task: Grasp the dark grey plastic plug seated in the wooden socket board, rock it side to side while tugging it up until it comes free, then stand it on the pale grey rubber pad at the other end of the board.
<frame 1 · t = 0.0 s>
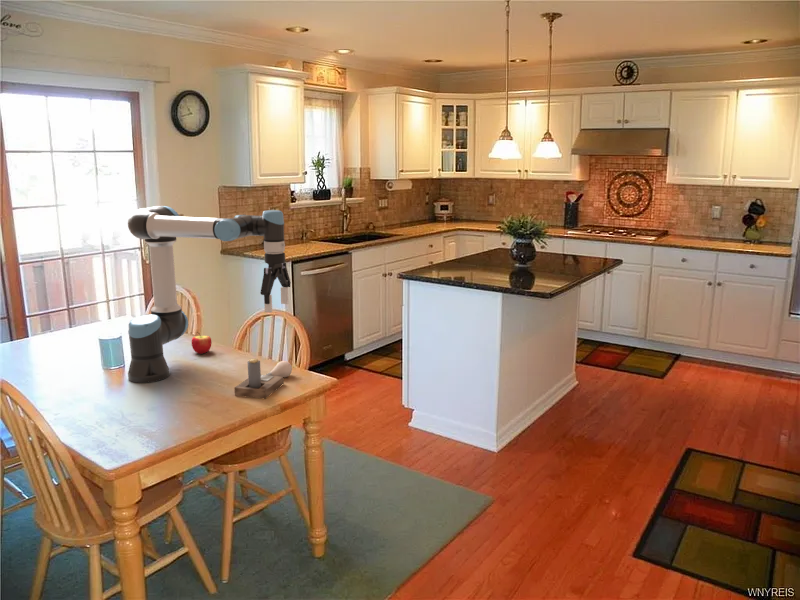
hand: (276, 307, 242), 28 cm above the table, fingers open, 13 cm apart
apple: (202, 353, 279), on the table
wooden socket board: (259, 389, 236), on the table
plug: (255, 393, 233), resting in wooden socket board
light bulb: (278, 378, 249), on the table
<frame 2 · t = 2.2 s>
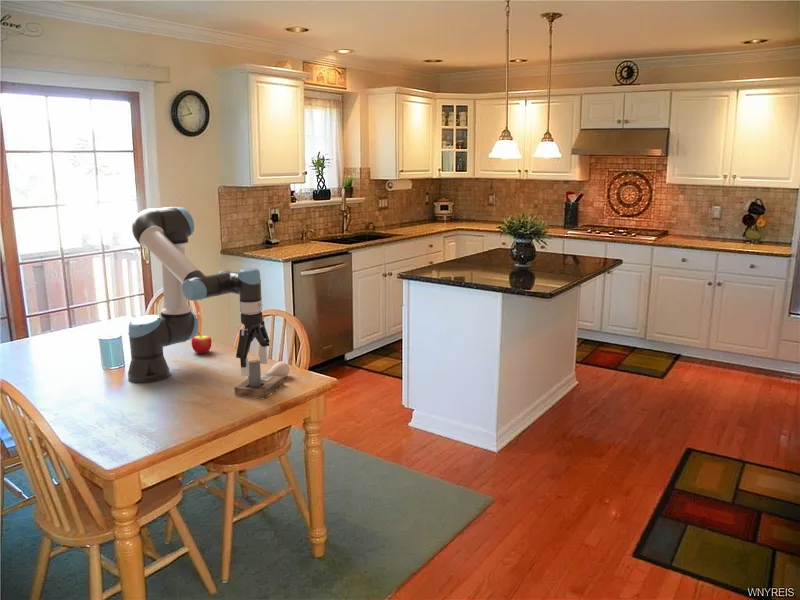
hand: (254, 369, 231), 9 cm above the table, fingers open, 13 cm apart
light bulb: (276, 379, 248), on the table
everything else where it was.
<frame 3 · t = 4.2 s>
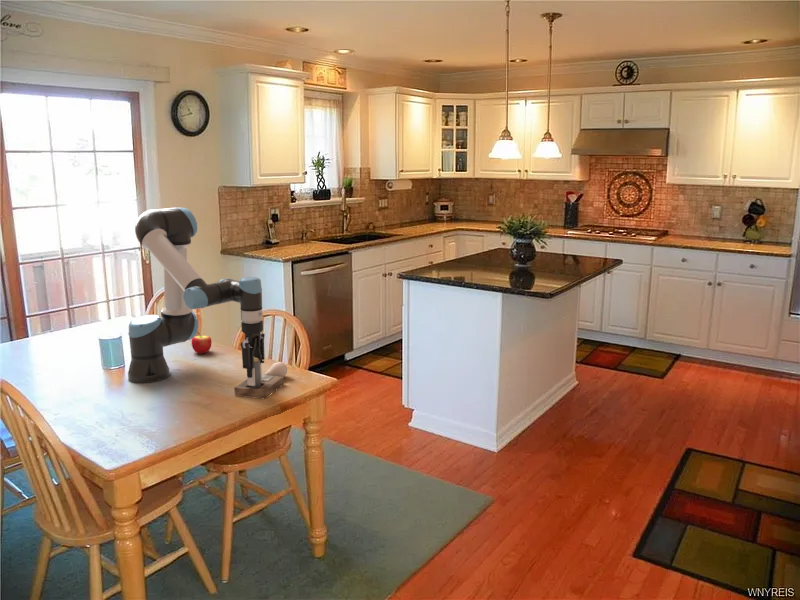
hand: (254, 382, 232), 4 cm above the table, fingers closed on plug, 4 cm apart
plug: (255, 392, 233), resting in wooden socket board, touching gripper
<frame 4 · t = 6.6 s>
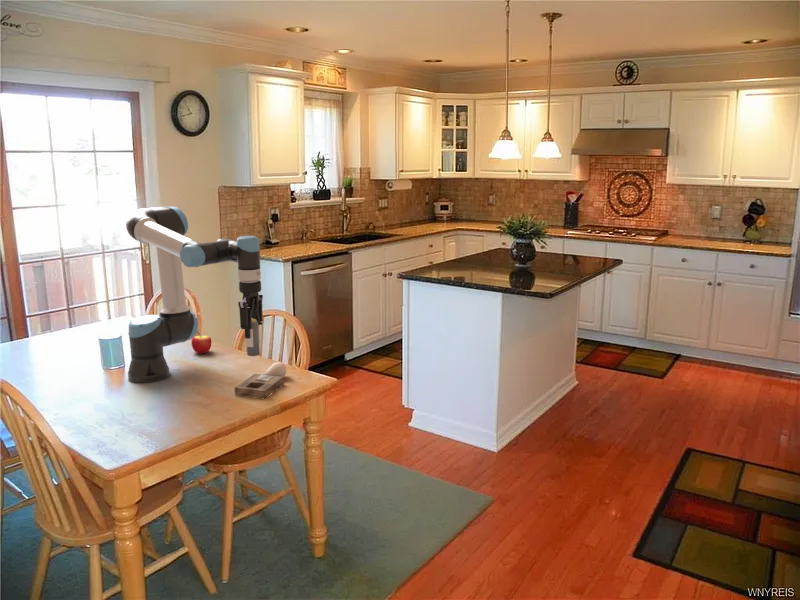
hand: (252, 344, 229), 19 cm above the table, fingers closed on plug, 4 cm apart
plug: (253, 354, 230), point 15 cm above the table, touching gripper
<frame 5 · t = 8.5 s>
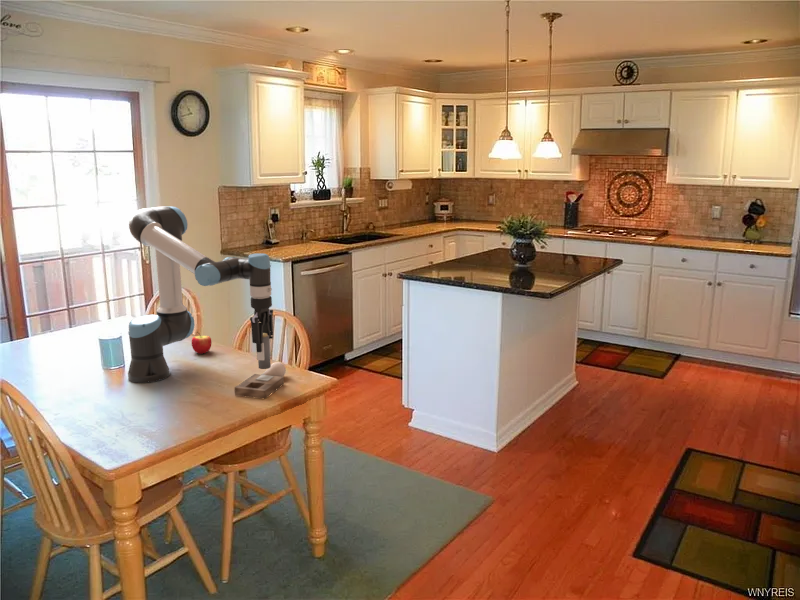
hand: (264, 357, 237), 11 cm above the table, fingers closed on plug, 4 cm apart
plug: (264, 367, 238), point 7 cm above the table, touching gripper
when the fingers open (8 cm above the table, at t = 9.7 s): plug drops 1 cm, resting on wooden socket board.
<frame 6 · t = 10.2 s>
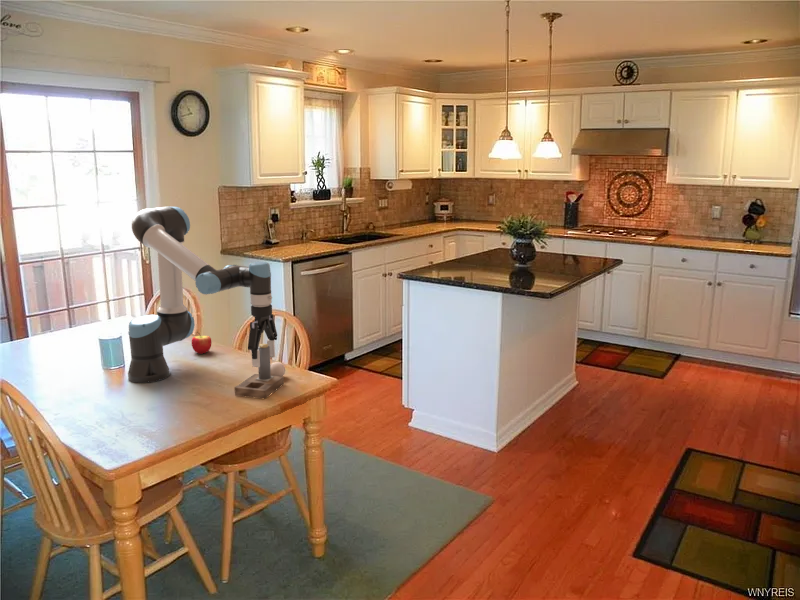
hand: (263, 361, 238), 10 cm above the table, fingers open, 11 cm apart
plug: (264, 377, 239), point 3 cm above the table, touching wooden socket board
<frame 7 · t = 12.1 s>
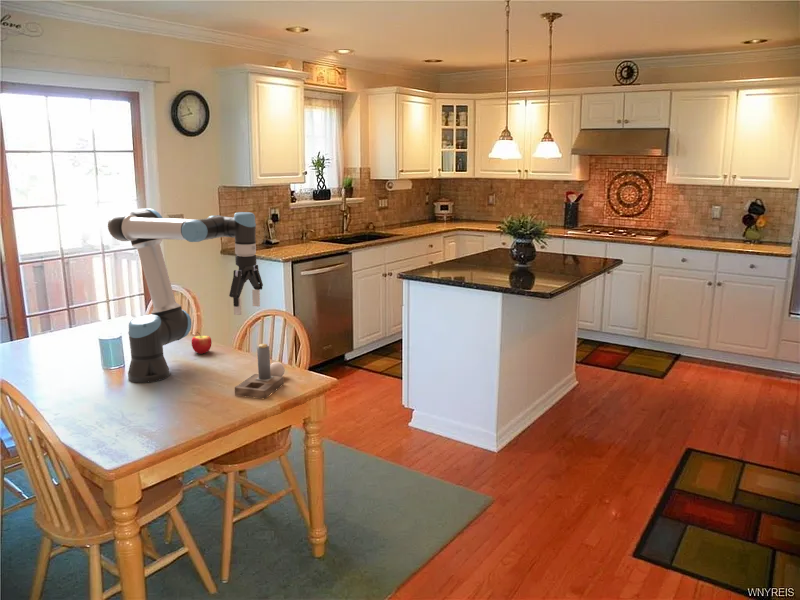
hand: (247, 310, 241), 27 cm above the table, fingers open, 13 cm apart
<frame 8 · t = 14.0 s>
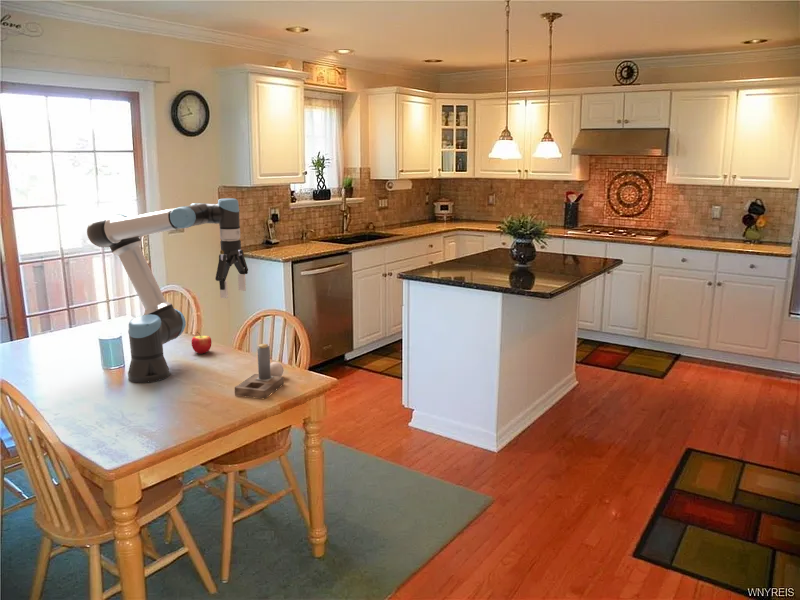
hand: (233, 294, 248), 32 cm above the table, fingers open, 13 cm apart
light bulb: (270, 379, 248), on the table, touching wooden socket board
everything else where it was.
at the end: plug 0.1 cm from the target spot on the wooden socket board, point 3.3 cm above the wooden socket board's base; plug tilted 1°; the gripper is holding nothing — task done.
